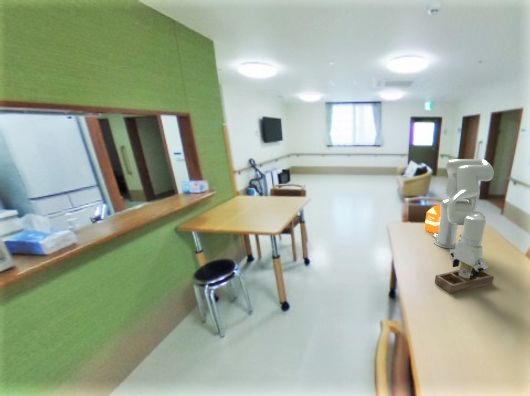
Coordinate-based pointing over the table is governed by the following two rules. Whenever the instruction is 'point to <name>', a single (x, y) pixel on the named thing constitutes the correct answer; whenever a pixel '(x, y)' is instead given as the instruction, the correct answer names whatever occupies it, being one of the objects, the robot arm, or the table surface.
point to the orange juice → (433, 219)
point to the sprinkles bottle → (465, 271)
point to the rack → (462, 281)
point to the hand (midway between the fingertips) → (465, 271)
